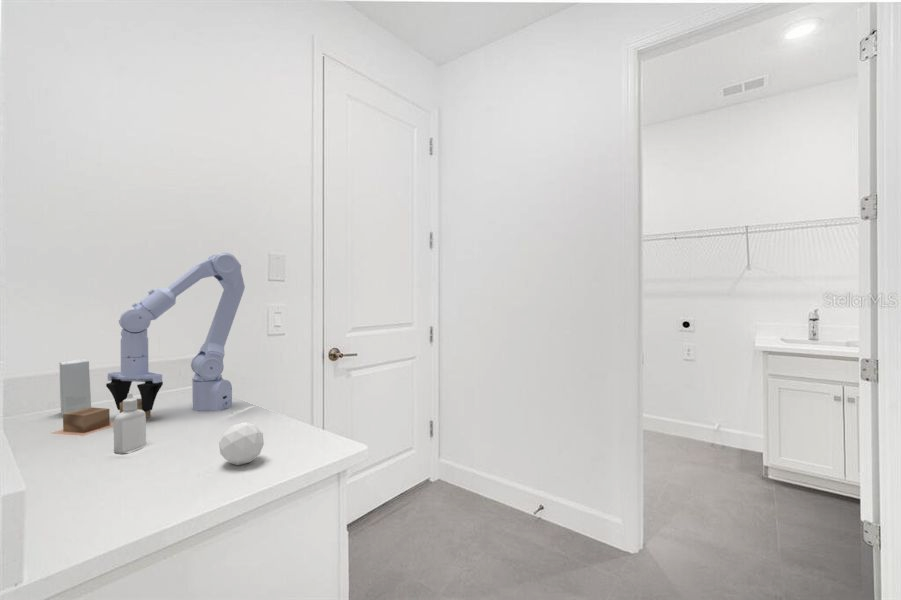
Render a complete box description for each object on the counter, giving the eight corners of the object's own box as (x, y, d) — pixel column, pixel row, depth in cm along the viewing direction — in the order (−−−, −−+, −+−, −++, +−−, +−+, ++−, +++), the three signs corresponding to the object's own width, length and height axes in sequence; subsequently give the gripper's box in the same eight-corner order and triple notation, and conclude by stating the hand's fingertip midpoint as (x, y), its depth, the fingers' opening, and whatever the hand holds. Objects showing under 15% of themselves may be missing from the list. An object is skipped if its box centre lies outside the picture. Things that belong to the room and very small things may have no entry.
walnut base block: (109, 425, 106) (109, 408, 106) (84, 433, 100) (84, 415, 100) (89, 423, 107) (89, 407, 107) (63, 431, 101) (62, 414, 101)
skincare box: (91, 417, 116) (91, 361, 116) (61, 422, 112) (60, 363, 111) (88, 411, 122) (88, 357, 122) (59, 415, 118) (58, 360, 117)
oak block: (150, 416, 114) (150, 399, 113) (134, 421, 109) (134, 403, 109) (136, 415, 114) (135, 398, 114) (119, 420, 110) (119, 402, 110)
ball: (242, 480, 84) (228, 457, 79) (219, 457, 87) (204, 434, 83) (276, 452, 88) (265, 428, 83) (253, 431, 92) (241, 407, 87)
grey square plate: (165, 419, 114) (165, 416, 114) (103, 441, 97) (103, 437, 97) (114, 416, 117) (114, 413, 117) (45, 436, 101) (45, 432, 101)
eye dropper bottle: (148, 449, 92) (148, 392, 92) (115, 456, 88) (114, 397, 88) (144, 444, 95) (143, 389, 95) (112, 451, 91) (111, 393, 91)
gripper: (95, 357, 109) (95, 412, 109) (144, 359, 106) (145, 415, 106) (122, 353, 116) (122, 405, 116) (169, 355, 113) (169, 408, 113)
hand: (134, 409), depth 112 cm, fingers open, 7 cm apart
